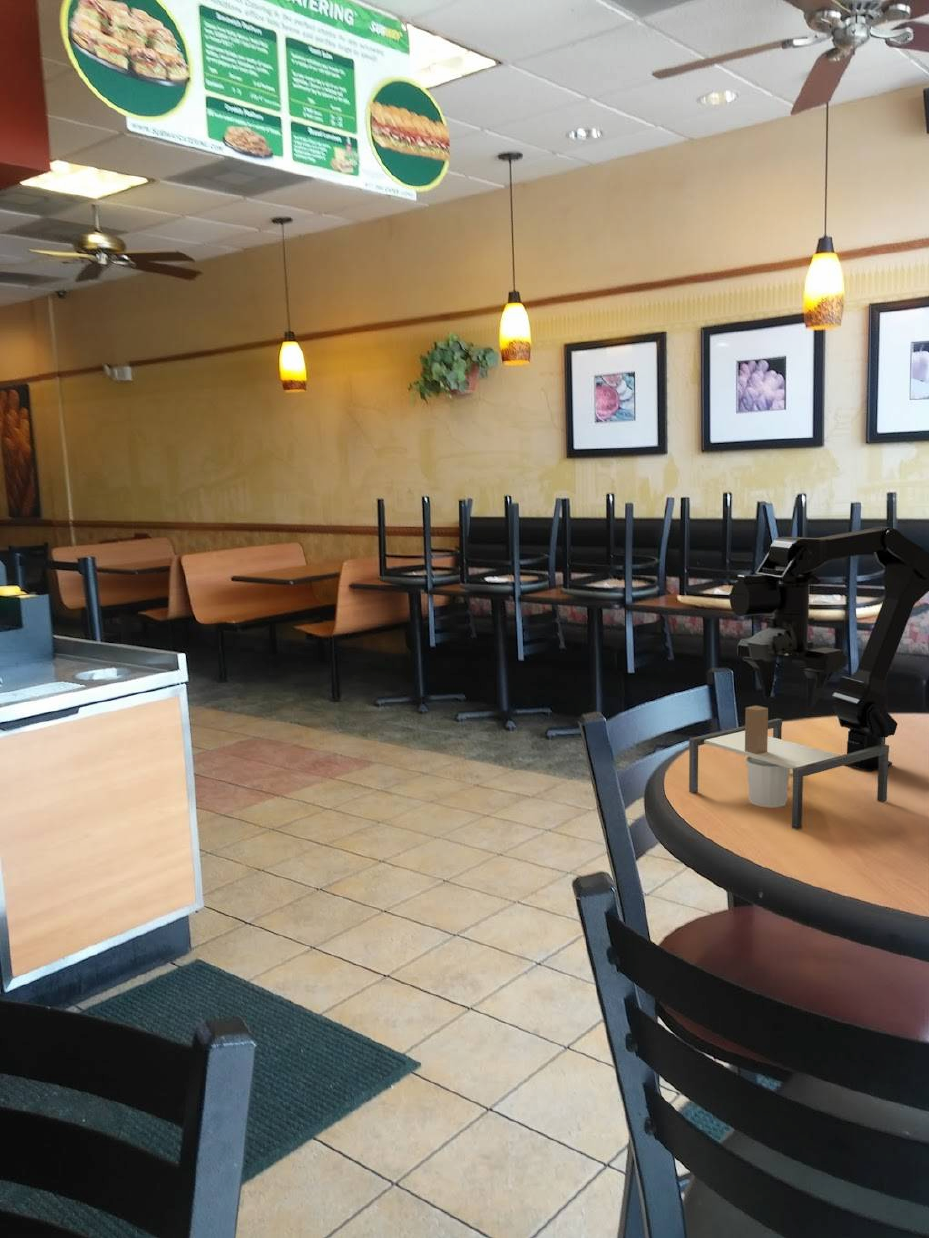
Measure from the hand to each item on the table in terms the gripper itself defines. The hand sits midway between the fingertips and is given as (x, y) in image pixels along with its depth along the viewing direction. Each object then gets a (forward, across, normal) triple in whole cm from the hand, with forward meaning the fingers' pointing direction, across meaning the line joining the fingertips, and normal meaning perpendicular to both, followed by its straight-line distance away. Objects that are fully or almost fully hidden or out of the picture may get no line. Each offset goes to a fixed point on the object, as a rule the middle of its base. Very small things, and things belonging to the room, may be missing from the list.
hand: (788, 702), depth 172 cm
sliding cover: (+5, +7, -13) cm, 15 cm away
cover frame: (+13, +7, -9) cm, 17 cm away
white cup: (+13, +7, -13) cm, 20 cm away
